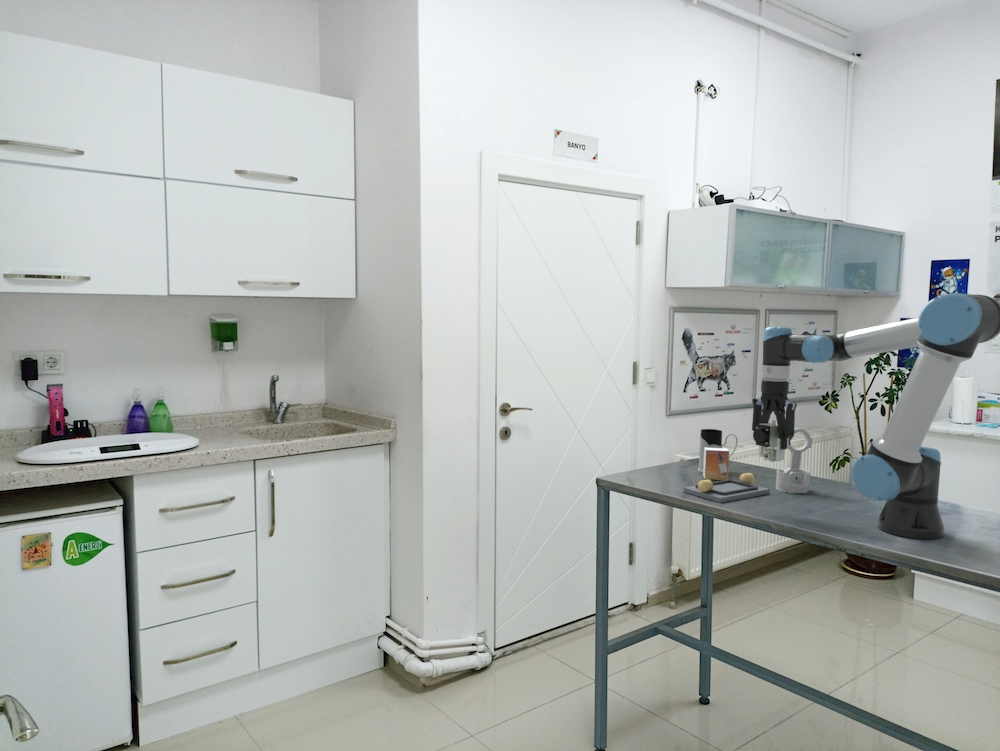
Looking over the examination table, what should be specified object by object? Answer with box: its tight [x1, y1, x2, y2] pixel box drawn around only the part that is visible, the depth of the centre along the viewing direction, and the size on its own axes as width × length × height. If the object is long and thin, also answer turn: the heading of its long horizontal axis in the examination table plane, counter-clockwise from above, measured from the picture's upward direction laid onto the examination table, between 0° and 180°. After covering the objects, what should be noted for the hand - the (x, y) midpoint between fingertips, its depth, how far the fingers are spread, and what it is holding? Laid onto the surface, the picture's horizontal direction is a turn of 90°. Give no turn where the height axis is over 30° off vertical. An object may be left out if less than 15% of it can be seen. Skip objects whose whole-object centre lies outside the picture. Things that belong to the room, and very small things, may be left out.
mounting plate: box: [683, 472, 771, 504], centre depth 224 cm, size 23×15×5 cm, turn 121°
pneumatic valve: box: [752, 420, 794, 463], centre depth 206 cm, size 6×12×12 cm, turn 115°
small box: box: [702, 447, 730, 481], centre depth 245 cm, size 8×6×10 cm
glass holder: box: [697, 428, 738, 473], centre depth 256 cm, size 9×14×15 cm, turn 93°
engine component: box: [775, 427, 813, 494], centre depth 229 cm, size 11×20×10 cm
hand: (771, 457), depth 206 cm, fingers closed on pneumatic valve, 5 cm apart
